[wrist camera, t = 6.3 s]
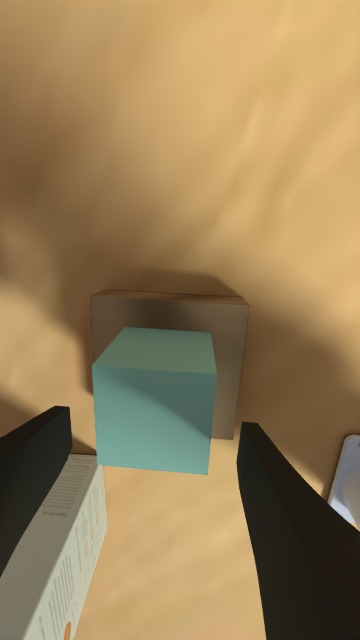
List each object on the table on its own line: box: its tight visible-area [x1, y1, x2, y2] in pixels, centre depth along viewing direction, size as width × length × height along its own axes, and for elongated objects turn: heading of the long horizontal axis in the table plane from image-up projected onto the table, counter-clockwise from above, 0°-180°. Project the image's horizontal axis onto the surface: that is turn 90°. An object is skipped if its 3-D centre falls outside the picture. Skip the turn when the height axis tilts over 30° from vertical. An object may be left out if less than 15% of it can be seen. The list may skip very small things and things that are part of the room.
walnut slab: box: [90, 290, 249, 440], centre depth 17 cm, size 9×9×3 cm
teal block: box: [92, 327, 217, 475], centre depth 13 cm, size 5×5×5 cm
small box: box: [0, 454, 108, 640], centre depth 17 cm, size 8×6×10 cm
